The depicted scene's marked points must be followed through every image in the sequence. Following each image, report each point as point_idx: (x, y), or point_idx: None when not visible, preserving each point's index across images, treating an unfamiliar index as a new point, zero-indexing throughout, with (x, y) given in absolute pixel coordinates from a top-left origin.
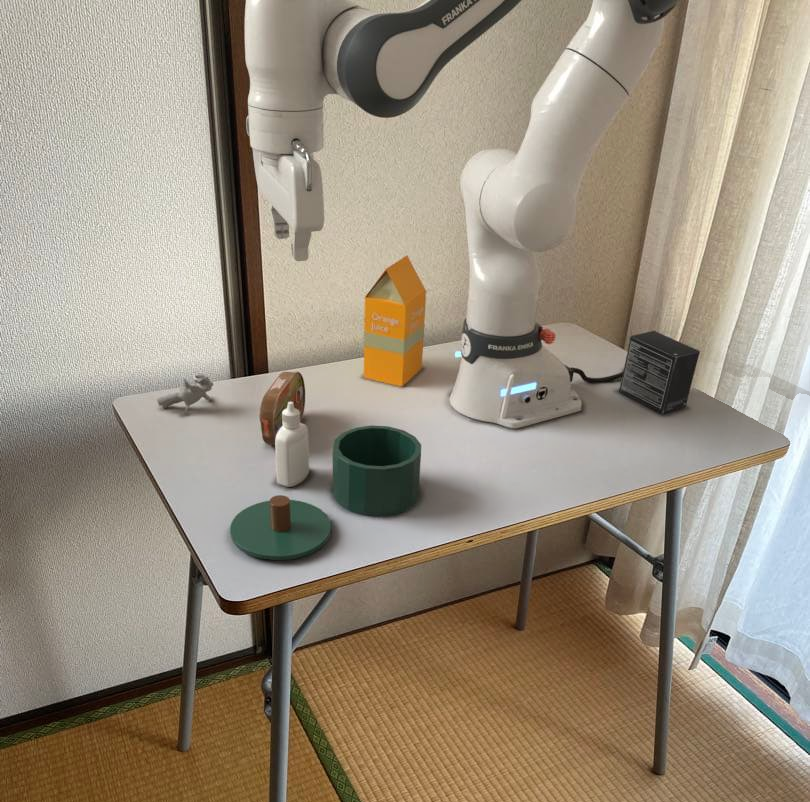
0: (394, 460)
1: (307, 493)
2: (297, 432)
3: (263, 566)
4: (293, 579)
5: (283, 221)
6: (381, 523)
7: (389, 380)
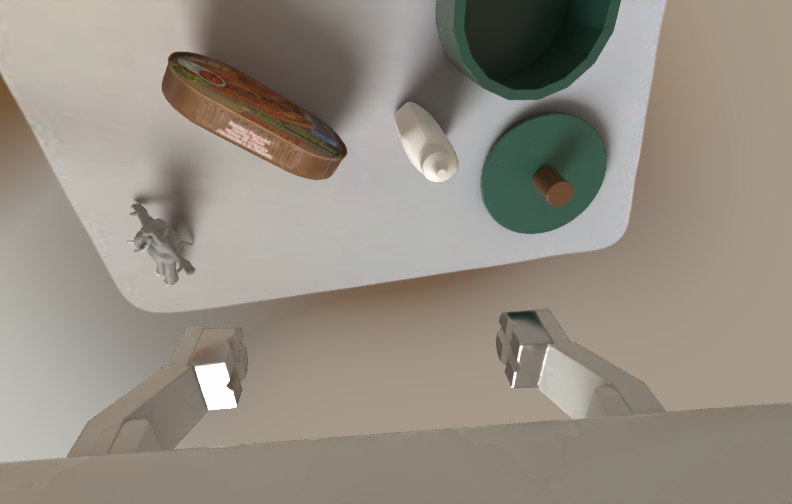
0: None
1: (464, 118)
2: (450, 150)
3: None
4: (625, 179)
5: (190, 384)
6: None
7: None
